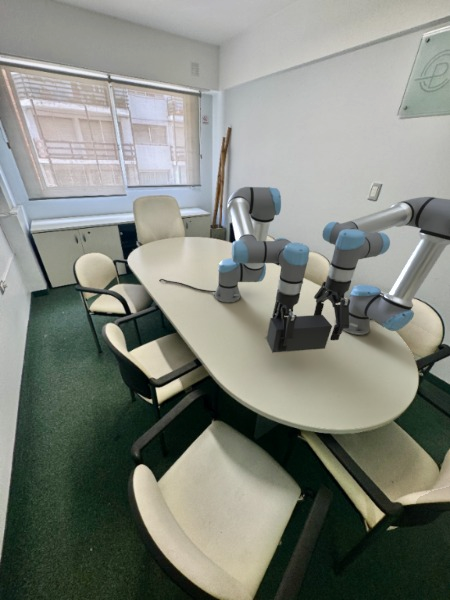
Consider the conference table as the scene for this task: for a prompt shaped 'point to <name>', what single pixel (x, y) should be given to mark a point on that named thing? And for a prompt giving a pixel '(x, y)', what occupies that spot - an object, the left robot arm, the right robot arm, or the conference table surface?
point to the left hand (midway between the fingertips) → (278, 342)
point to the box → (301, 333)
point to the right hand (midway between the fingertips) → (324, 327)
